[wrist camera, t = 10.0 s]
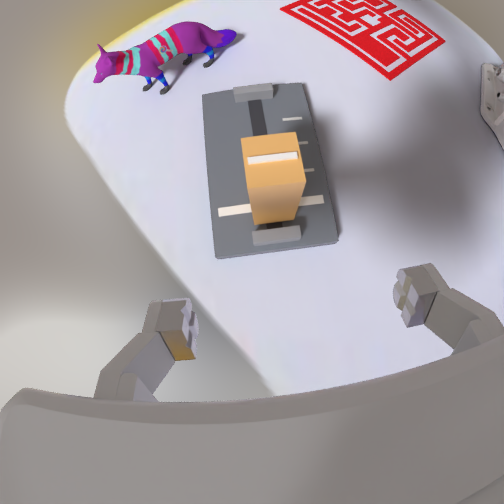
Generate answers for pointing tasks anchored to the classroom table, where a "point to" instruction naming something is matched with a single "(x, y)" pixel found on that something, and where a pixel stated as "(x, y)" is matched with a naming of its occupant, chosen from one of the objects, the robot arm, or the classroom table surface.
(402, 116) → the classroom table surface
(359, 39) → the maze puzzle
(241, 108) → the fader board
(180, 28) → the purple fox figurine
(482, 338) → the robot arm
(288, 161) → the fader cap
